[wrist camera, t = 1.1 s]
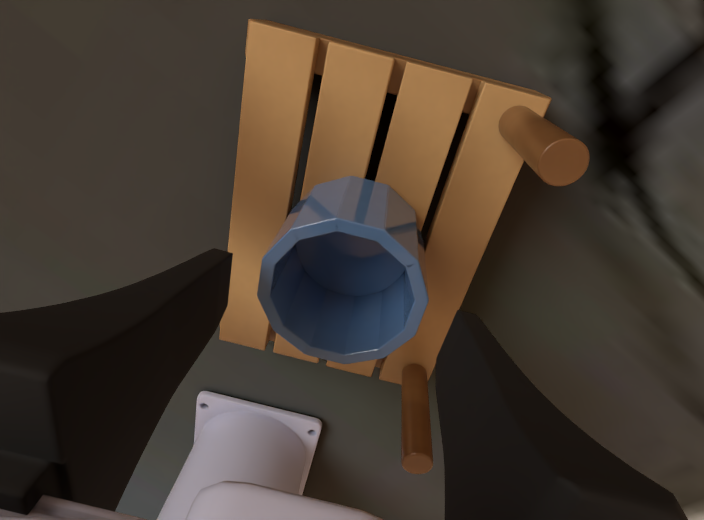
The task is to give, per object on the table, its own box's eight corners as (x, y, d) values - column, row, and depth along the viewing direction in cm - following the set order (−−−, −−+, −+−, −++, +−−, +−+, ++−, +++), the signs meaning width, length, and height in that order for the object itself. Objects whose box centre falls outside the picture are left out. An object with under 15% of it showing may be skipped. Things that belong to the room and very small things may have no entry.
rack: (426, 351, 24) (436, 487, 17) (234, 303, 24) (162, 420, 17) (535, 90, 17) (629, 134, 10) (265, 19, 17) (166, 12, 10)
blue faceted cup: (399, 310, 19) (399, 378, 15) (279, 280, 19) (249, 341, 15) (439, 197, 16) (450, 246, 13) (300, 161, 16) (269, 200, 13)
